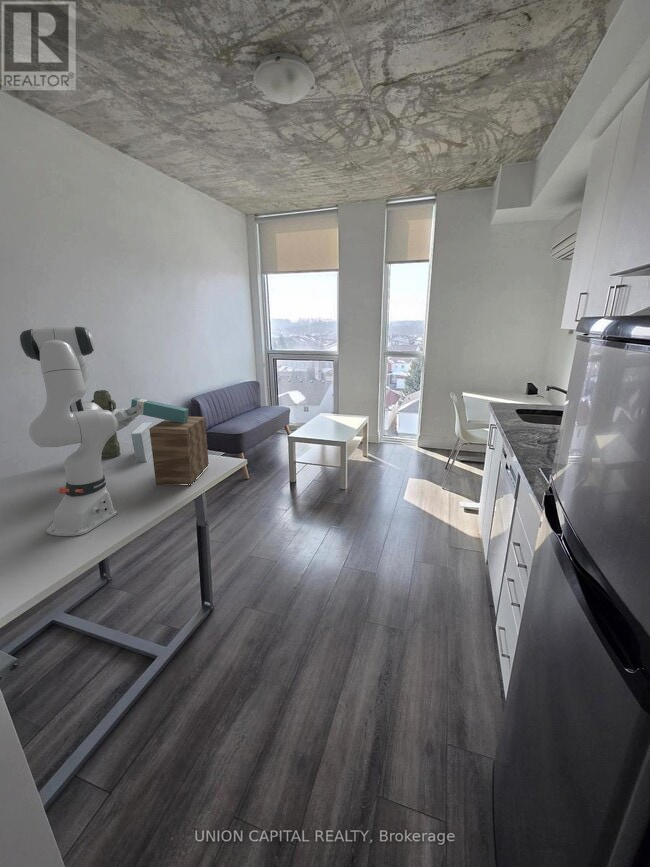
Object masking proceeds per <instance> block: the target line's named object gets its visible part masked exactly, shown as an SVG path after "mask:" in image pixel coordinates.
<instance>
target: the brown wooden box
mask: <svg viewBox="0 0 650 867" xmlns="http://www.w3.org/2000/svg"><path fill="white" fill-rule="evenodd" d="M206 426H207V424H206V417H205V416H189V415H188V420H187V422H186V423H184V424H183V423H178V422H173V421H169V420H164V419H163V420H162V421H160V422H159V423H157V424H155V425H153V427H151V428H149V431H150V439H151V447H152V455H151V456H152V462H153V469H154V470H153V472H154V478H155V485H158V484H188V485H189V484H190V485H191V484H192V483H193V482H194V481H195V480H196V478H197V477H198V476H199V475H200V474H201V473H202V472H203V470H204V469H205V468H206V467H207V466H208V464H209V465H210V462H209V451H208V449H209V448H208V438H207V427H206ZM196 481H197V480H196Z"/></svg>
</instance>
